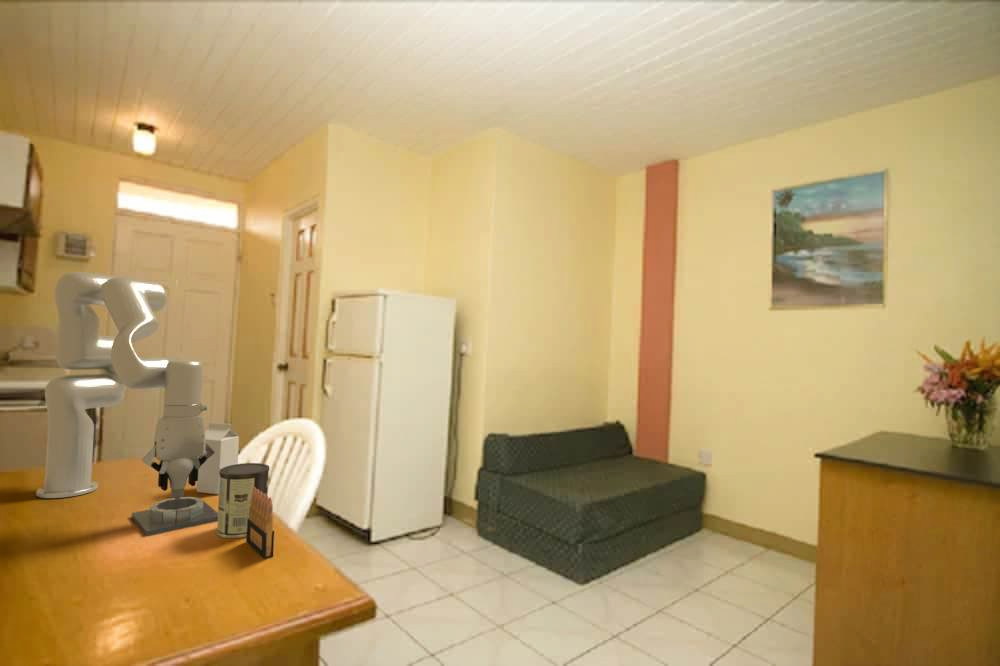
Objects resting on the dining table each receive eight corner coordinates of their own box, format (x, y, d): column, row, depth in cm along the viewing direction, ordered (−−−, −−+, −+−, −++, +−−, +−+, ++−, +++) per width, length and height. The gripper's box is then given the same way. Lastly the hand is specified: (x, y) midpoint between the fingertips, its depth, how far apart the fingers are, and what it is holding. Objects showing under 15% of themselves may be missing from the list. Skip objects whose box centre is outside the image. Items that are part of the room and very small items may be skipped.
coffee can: (256, 518, 121) (259, 460, 121) (273, 530, 113) (276, 469, 114) (209, 528, 113) (212, 467, 113) (225, 542, 106) (228, 477, 106)
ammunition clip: (273, 556, 100) (276, 497, 101) (263, 559, 99) (267, 499, 99) (255, 540, 108) (257, 485, 108) (245, 542, 107) (248, 486, 107)
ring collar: (131, 517, 118) (132, 502, 118) (202, 503, 129) (202, 490, 129) (146, 536, 107) (146, 520, 107) (221, 520, 118) (222, 505, 118)
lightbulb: (160, 504, 114) (162, 456, 114) (164, 496, 119) (165, 450, 120) (191, 501, 117) (193, 454, 117) (193, 493, 122) (195, 449, 122)
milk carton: (218, 495, 136) (221, 426, 136) (196, 492, 137) (199, 424, 138) (236, 487, 143) (240, 422, 143) (215, 485, 144) (219, 420, 145)
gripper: (216, 406, 127) (212, 477, 127) (135, 411, 115) (131, 490, 115) (226, 410, 122) (222, 484, 122) (142, 416, 110) (138, 498, 109)
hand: (178, 486), depth 118 cm, fingers closed on lightbulb, 5 cm apart
